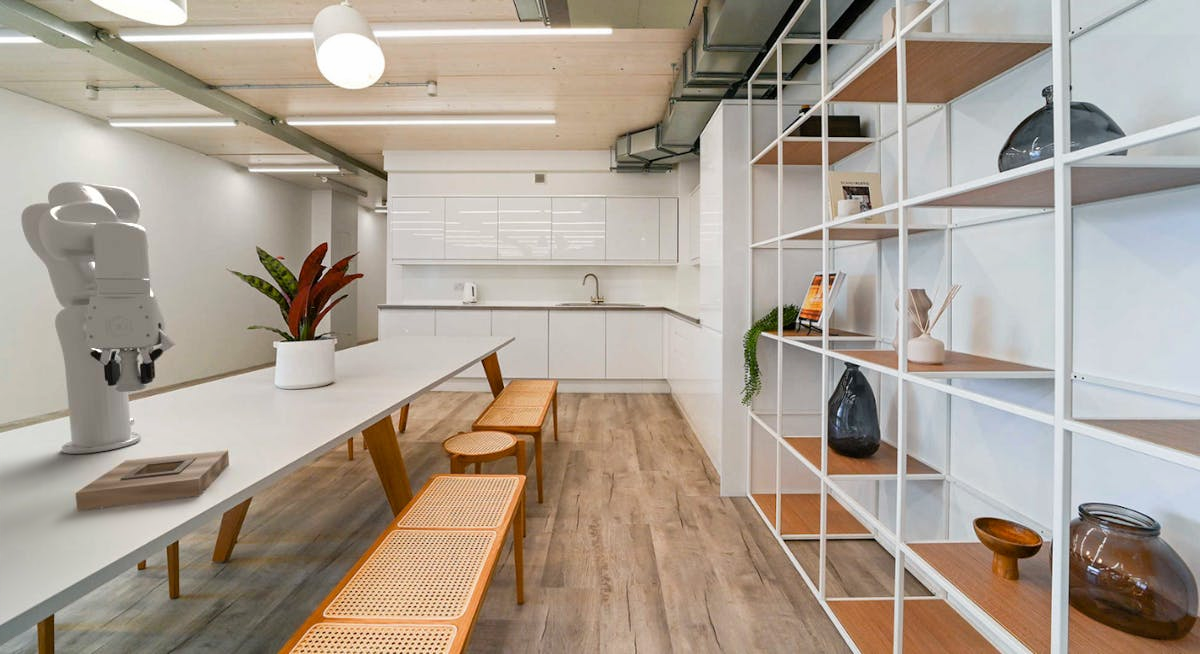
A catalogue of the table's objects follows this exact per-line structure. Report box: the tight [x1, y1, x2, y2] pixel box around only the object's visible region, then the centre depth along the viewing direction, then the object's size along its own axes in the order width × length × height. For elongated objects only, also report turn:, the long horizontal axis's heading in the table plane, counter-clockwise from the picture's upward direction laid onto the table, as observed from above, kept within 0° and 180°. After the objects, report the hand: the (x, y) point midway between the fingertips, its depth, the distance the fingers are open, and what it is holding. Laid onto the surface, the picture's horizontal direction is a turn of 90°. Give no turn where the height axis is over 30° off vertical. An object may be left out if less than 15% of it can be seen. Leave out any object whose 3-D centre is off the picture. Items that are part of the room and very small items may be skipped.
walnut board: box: [75, 449, 230, 512], centre depth 90 cm, size 16×16×3 cm
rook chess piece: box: [115, 348, 147, 393], centre depth 97 cm, size 4×4×8 cm
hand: (131, 382), depth 97 cm, fingers closed on rook chess piece, 4 cm apart
